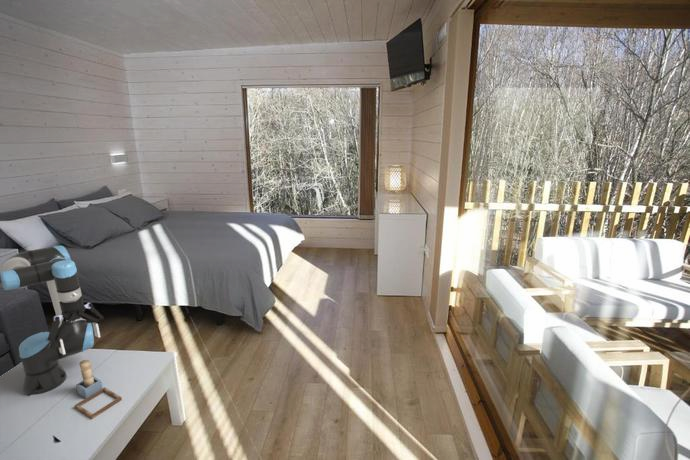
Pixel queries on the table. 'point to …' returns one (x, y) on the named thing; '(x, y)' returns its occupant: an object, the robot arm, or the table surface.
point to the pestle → (86, 373)
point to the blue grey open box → (89, 388)
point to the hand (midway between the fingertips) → (80, 344)
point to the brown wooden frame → (117, 399)
